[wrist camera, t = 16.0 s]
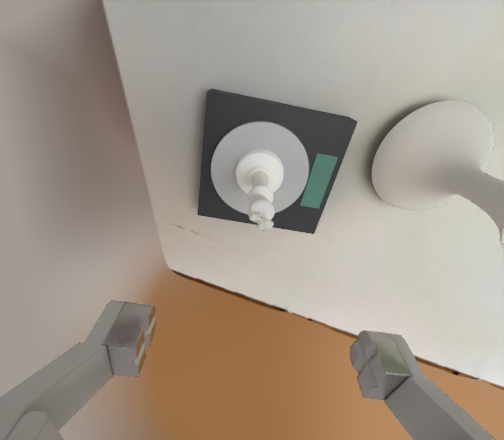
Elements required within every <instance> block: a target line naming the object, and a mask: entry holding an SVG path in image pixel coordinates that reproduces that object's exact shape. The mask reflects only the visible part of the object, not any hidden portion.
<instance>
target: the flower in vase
mask: <svg viewBox="0 0 504 440" xmlns="http://www.w3.org/2000/svg"><path fill="white" fill-rule="evenodd" d="M494 142H495V141H494V130H493V126H492V124H491V122H490V120H489V119H488V117H487V116H486V115H485V114H484V113H483V112H482V111H481V110H480V109H479V108H478V107H476V106H475V105H473V104H471V103H468V102H465V101H460V100H446V101H439V102H435V103H432V104H429V105H426V106H424V107H422V108H420V109H417V110H416V111H414V112H412V113H411V114H409V115H408V116H406V117H405V118H404V119H402V120H401V121H400V122H399V123H398V124H397V125H395V126H394V127H393V129H392V130H391V131H390V132H389V133H388V134H387V136H386V137H385V138H384V140H383V141H382V143H381V145H380V146H379V148H378V150H377V153H376V155H375V158H374V161H373V166H372V182H373V186H374V188H375V190H376V193H377V194H378V195H379V197H380V198H381V199H382V200H383V201H385V202H386V203H387V204H389V205H391V206H393V207H397V208H400V209H404V210H413V211H418V210H426V209H431V208H435V207H438V206H440V205H443V204H445V203H448V202H450V201H452V200H454V199H456V198H457V197H459V196H463V197H464V198H466V199H468V200H470V201H471V202H473V203H474V204H476V205H477V206H479V207H480V208H481V209H482V210H483V211H484V212H486V213H487V214H488V215H489V216H490V217H491V218H492V219H493V221H494V222H495V223H496V225H497V227H498V228H499V232H500V242H501V245H502V247H503V248H504V181H502V180H499V179H497V178H494V177H492V176H490V175H488V174H486V173H485V172H484V171H485V169H486V168H487V166H488V164H489V161H490V159H491V155H492V152H493V149H494Z"/></svg>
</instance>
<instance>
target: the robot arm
mask: <svg viewBox="0 0 504 440" xmlns="http://www.w3.org/2000/svg"><path fill="white" fill-rule="evenodd" d="M154 314H155V306H153V305H145V304H138V303H130V302H124V301H116V300H112V301H110V302H109V303H108V304H107V306H106V308H105V309H104V311H103V312H102V314H101V316H100V317H99V319H98V321H97V322H96V324H95V326H94V327H93V329H92V331H91V332H90V334H89V336H88V337H87V339H86V341H85V342H84V343H78V344H77V345H75V346H74V347H72V348H71V349H70V350H68V351H67V352H65V353H64V354H62V355H61V356H59V357H58V358H56V359H55V360H54V361H52V362H51V363H49V364H48V365H46V366H45V367H43V368H42V369H41V370H39V371H38V372H36V373H35V374H33V375H32V376H30V377H29V378H28V379H26V380H25V381H23V382H22V383H20V384H19V385H17V386H16V387H15V388H13V389H12V390H10V391H9V392H7V393H6V394H4V395H3V396H1V397H0V440H64V439H63V438H62V436H61V434H60V433H59V430H60V429H61V428H62V427H63V426H64V425H65V424H66V423H67V422H68V421H69V420H70V419H71V418H72V417H73V416H74V415H75V414H76V413H77V412H78V411H79V410H80V409H81V408H82V407H83V406H84V405H85V404H86V403H87V402H88V401H89V400H90V399H91V398H92V397H93V396H94V395H95V394H96V393H97V392H98V391H99V390H100V389H101V388H102V387H103V386H104V385H105V384H106V383H107V382H108V381H109V380H110V379H111V378H112V377H113V375H117V376H133V377H138V376H139V374H140V372H141V369H142V366H143V364H144V361H145V358H146V353H145V349H146V348H147V347H149V346H150V344H151V342H152V339H153V335H154V331H155V325H156V319H155V318H154ZM358 336H359V339H358V340H356V341H354V342H353V344H352V345H351V347H350V359H351V362H352V365H353V367H354V368H355V369H356V371H357V372H358V376H357V380H358V383H359V386H360V389H361V392H362V395H363V397H364V398H372V399H380V400H385V401H384V402H385V403H386V405H388V407H389V408H390V410H391V411H392V412H393V414H394V415H395V416H396V418H397V419H398V420H399V422H400V423H401V424H402V425H403V427H404V428H405V429H406V430H407V432H408V433H409V434H410V436H411V437H412V438H413V440H496V439H495V438H494V437H493V436H492V435H491V434H489V433H488V432H487V431H486V430H485V429H484V428H483V427H482V426H481V425H480V424H479V423H477V422H476V421H475V420H474V419H473V418H472V417H471V416H470V415H469V414H468V413H467V412H466V411H464V410H463V409H462V408H461V407H460V406H459V405H458V404H457V403H456V402H454V400H452V399H451V398H450V397H449V396H448V395H447V394H446V393H445V392H444V391H443V390H441V389H440V388H439V387H438V386H437V385H436V384H435V383H434V382H433V381H432V380H431V379H428V378H426V377H425V375H424V374H423V372H422V370H421V368H420V367H419V365H418V363H417V361H416V359H415V357H414V356H413V354H412V352H411V350H410V349H409V347H408V345H407V343H406V341H405V340H404V338H403V337H402V336H401V335H398V334H389V333H383V332H374V331H361V332H360V334H359V335H358Z"/></svg>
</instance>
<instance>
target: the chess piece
mask: <svg viewBox="0 0 504 440" xmlns="http://www.w3.org/2000/svg"><path fill="white" fill-rule="evenodd" d="M235 176H236V180H237V183H238V185H239V187H240V188H241V189H242V190H243V191H244V192H245V193H247V194H248V202H249V203H250V206H249V208H248V216H249V218H250V220H252V221H254V222H255V223H258V229H260V230H262V231H263V230H264V229H265V228H269V229H271V228H272V227H273V225H274V222H273V221H271V219H272V218H273V217H274V214H275V209H274V206H273V205H272V202H273V198H274V196H273V193H274V192H275V191H276V190H277V189H278V188H279V187H280V185H281V183H282V181H283V177H284V167H283V164H282V162H281V160H280V159H279V157H278V156H277V155H276V154H274V153H273V152H271V151H268V150H265V149H255V150H251V151H249V152H247V153H245V154H244V155H243V156H242V157H241V158H240V159H239V161H238V163H237V165H236V169H235Z"/></svg>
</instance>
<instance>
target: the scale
mask: <svg viewBox="0 0 504 440" xmlns="http://www.w3.org/2000/svg"><path fill="white" fill-rule="evenodd" d="M356 124H357V121H355V120H353V119H351V118H349V117H345V116H340V115H335V114H330V113H325V112H321V111H316V110H311V109H306V108H301V107H296V106H292V105H287V104H282V103H277V102H272V101H268V100H263V99H258V98H253V97H248V96H244V95H239V94H234V93H229V92H224V91H220V90H215V89H210V90H208V94H207V106H206V118H205V131H204V143H203V155H202V168H201V180H200V192H199V205H198V215H201V216H207V217H213V218H219V219H225V220H232V221H238V222H244V223H250V224H256V225H258V223H255V222H254V221H252V220H250V218H249V216H248V208H249V206H250V203H249V202H248V194H247V193H245V192H244V191H243V190H242V189H241V188H240V187H239V185H238V183H237V180H236V176H235V169H236V165H237V163H238V161H239V159H240V158H241V157H242V156H243V155H244V154H245V153H247V152H249V151H251V150H255V149H265V150H268V151H271V152H273V153H274V154H276V155H277V156H278V157H279V159H280V160H281V162H282V164H283V167H284V177H283V181H282V183H281V185H280V187H279V188H278V189H277V190H276V191H275V192H274V193H273V196H274V198H273V202H272V205H273V206H274V209H275V214H274V217H273V218H272V219H271V221H273V222H274V225H273V227H275V228H281V229H287V230H293V231H299V232H306V233H312V234H314V232H315V230H316V227H317V225H318V222H319V219H320V217H321V214H322V212H323V209H324V207H325V204H326V201H327V199H328V196H329V194H330V191H331V189H332V186H333V183H334V181H335V178H336V176H337V173H338V170H339V168H340V165H341V163H342V160H343V158H344V155H345V152H346V150H347V147H348V145H349V142H350V140H351V137H352V134H353V132H354V129H355V127H356Z"/></svg>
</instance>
